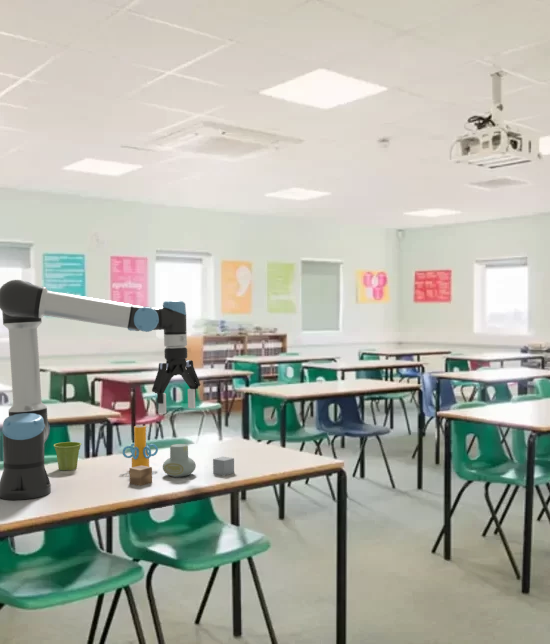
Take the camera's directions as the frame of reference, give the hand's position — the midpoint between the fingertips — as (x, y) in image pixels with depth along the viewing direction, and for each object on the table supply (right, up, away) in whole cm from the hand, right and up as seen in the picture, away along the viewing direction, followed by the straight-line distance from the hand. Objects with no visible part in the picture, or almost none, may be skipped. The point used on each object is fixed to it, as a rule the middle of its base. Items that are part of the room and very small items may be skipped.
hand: (177, 410), depth 235 cm
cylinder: (-14, -22, +9) cm, 27 cm away
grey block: (+15, -21, +2) cm, 26 cm away
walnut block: (-10, -22, -11) cm, 26 cm away
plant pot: (-40, -22, +11) cm, 47 cm away
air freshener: (+1, -22, 0) cm, 22 cm away
